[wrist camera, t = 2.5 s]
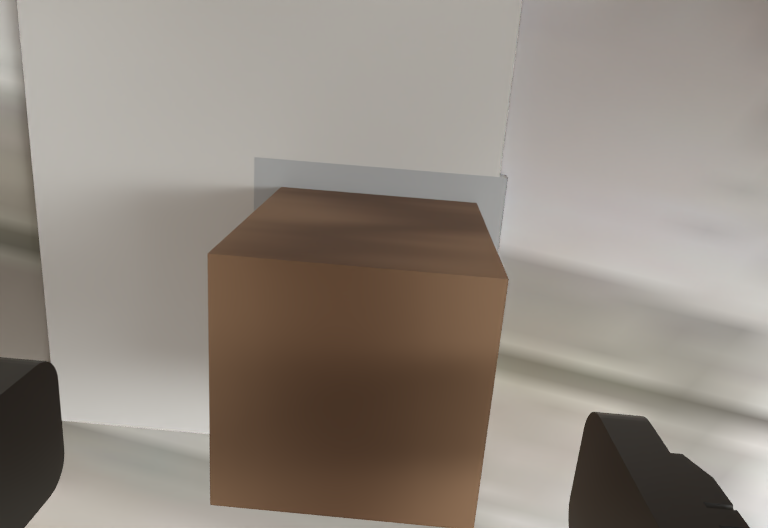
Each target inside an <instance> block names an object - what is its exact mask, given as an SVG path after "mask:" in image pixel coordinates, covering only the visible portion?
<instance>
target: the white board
mask: <svg viewBox="0 0 768 528" xmlns="http://www.w3.org/2000/svg"><path fill="white" fill-rule="evenodd" d="M522 1H523V0H16V2H17V12H18V23H19V33H20V44H21V54H22V65H23V75H24V86H25V96H26V107H27V117H28V128H29V139H30V149H31V160H32V170H33V181H34V191H35V202H36V212H37V223H38V233H39V244H40V254H41V265H42V276H43V286H44V297H45V307H46V318H47V328H48V339H49V349H50V360H51V364H53V366H54V367H55V369H56V371H57V375H58V383H59V395H60V406H61V418H62V421H71V422H82V423H93V424H103V425H114V426H125V427H136V428H146V429H157V430H168V431H179V432H189V433H200V434H210V429H209V343H208V258H207V254H208V253H209V252H210V251H211V250H212V249H213V248H214V247H215V246H216V245H217V244H219V243H220V242H221V241H222V240H223V239H224V238H225V237H226V236H227V235H229V234H230V233H231V232H232V231H233V230H234V229H235V228H236V227H237V226H238V225H240V224H241V223H242V222H243V221H244V220H245V219H246V218H247V217H248V216H250V215H251V214H252V213H253V212H254V211H255V210H256V209H257V208H258V207H259V206H261V205H262V204H263V203H264V202H265V201H266V200H267V199H268V198H269V197H271V196H272V195H273V194H274V193H275V192H276V191H277V190H278V189H279V188H280V187H290V188H302V189H314V190H326V191H338V192H350V193H362V194H375V195H387V196H399V197H411V198H423V199H435V200H448V201H460V202H472V203H477V205H478V207H479V210H480V212H481V215H482V217H483V219H484V222H485V224H486V227H487V229H488V231H489V234H490V236H491V239H492V241H493V243H494V246H495V248H496V250H497V253H498V248H499V241H500V233H501V226H502V218H503V211H504V203H505V196H506V188H507V181H508V177H507V176H506V175H500V172H501V164H502V156H503V149H504V141H505V133H506V125H507V118H508V110H509V102H510V94H511V87H512V79H513V71H514V63H515V56H516V48H517V40H518V32H519V25H520V17H521V9H522Z"/></svg>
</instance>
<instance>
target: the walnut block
mask: <svg viewBox="0 0 768 528" xmlns="http://www.w3.org/2000/svg"><path fill="white" fill-rule="evenodd" d="M207 258H208V343H209V429H210V505H217V506H228V507H238V508H249V509H259V510H270V511H280V512H290V513H301V514H311V515H322V516H332V517H342V518H353V519H363V520H374V521H384V522H395V523H405V524H415V525H426V526H436V527H447V528H474V522H475V515H476V508H477V501H478V494H479V487H480V479H481V472H482V465H483V458H484V451H485V444H486V437H487V429H488V422H489V415H490V408H491V401H492V394H493V387H494V379H495V372H496V365H497V358H498V351H499V344H500V337H501V330H502V322H503V315H504V308H505V301H506V294H507V287H508V280H509V279H508V277H507V274H506V272H505V270H504V267H503V265H502V262H501V260H500V258H499V255H498V253H497V250H496V248H495V246H494V243H493V241H492V239H491V236H490V234H489V231H488V229H487V227H486V224H485V222H484V219H483V217H482V215H481V212H480V210H479V207H478V205H477V203H472V202H460V201H448V200H435V199H423V198H411V197H399V196H387V195H375V194H362V193H350V192H338V191H326V190H314V189H302V188H290V187H280V188H279V189H278V190H277V191H276V192H275V193H274V194H273V195H272V196H271V197H269V198H268V199H267V200H266V201H265V202H264V203H263V204H262V205H261V206H259V207H258V208H257V209H256V210H255V211H254V212H253V213H252V214H251V215H250V216H248V217H247V218H246V219H245V220H244V221H243V222H242V223H241V224H240V225H238V226H237V227H236V228H235V229H234V230H233V231H232V232H231V233H230V234H229V235H227V236H226V237H225V238H224V239H223V240H222V241H221V242H220V243H219V244H217V245H216V246H215V247H214V248H213V249H212V250H211V251H210V252H209V253H208V254H207Z"/></svg>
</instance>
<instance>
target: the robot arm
mask: <svg viewBox="0 0 768 528" xmlns="http://www.w3.org/2000/svg"><path fill="white" fill-rule="evenodd" d="M63 463H64V442H63V430H62V418H61V406H60V395H59V383H58V375H57V371H56V369H55V367H54V366H53V364H51V363H50V362H46V361H35V360H24V359H13V358H2V357H0V528H24V527H25V526H26V525H27V524H28V523H29V521H30V520H31V519H32V518H33V517H34V515H35V514H36V513H37V512H38V511H39V509H40V508H41V507H42V506H43V504H44V503H45V502H46V501H47V500H48V498H49V497H50V496H51V494H52V493H53V491H54V490H55V488H56V486H57V484H58V481H59V479H60V476H61V472H62V468H63ZM569 528H750V527H749V526H748V525H747V523H746V522H745V521H744V519H743V518H742V517H741V515H740V514H739V512H738V511H737V510H733V504H732V503H731V502H730V500H729V499H728V497H727V496H726V495H725V493H724V492H723V491H722V489H721V488H720V487H719V485H718V484H717V482H716V481H715V480H714V478H713V477H711V476H710V475H709V474H707V473H706V472H705V471H703V470H702V469H701V468H700V467H698V466H697V465H696V464H694V463H693V462H692V461H690V460H689V459H688V458H687V457H685V456H684V455H683V454H675V453H670V452H669V450H668V449H667V447H666V446H665V444H664V443H663V441H662V440H661V438H660V437H659V435H658V434H657V432H656V431H655V429H654V428H653V426H652V425H651V423H650V422H649V421H648V419H647V418H645V417H643V416H633V415H622V414H611V413H600V412H592V413H591V414H590V415H589V416H588V418H587V420H586V423H585V427H584V431H583V436H582V441H581V446H580V451H579V456H578V461H577V466H576V471H575V476H574V481H573V486H572V491H571V496H570V502H569Z"/></svg>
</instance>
